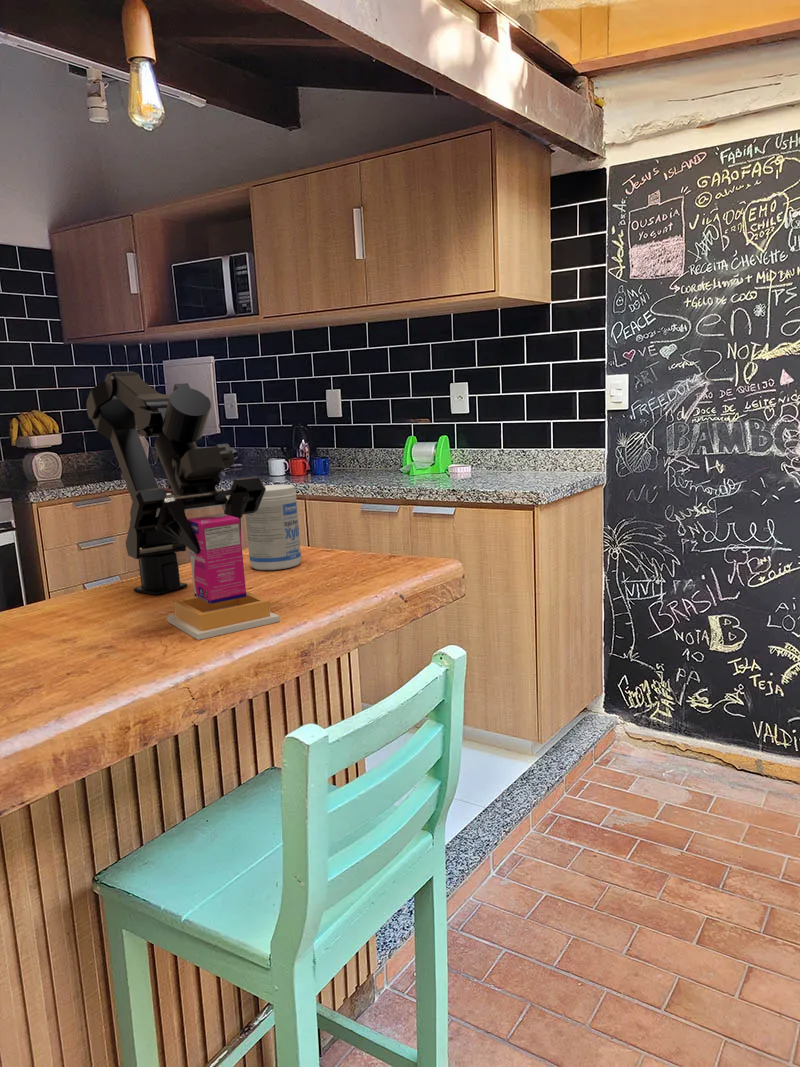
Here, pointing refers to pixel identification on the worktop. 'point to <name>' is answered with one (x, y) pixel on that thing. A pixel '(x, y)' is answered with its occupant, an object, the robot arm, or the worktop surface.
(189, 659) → the worktop surface
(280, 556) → the supplement tub
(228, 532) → the supplement box
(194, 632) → the collar socket
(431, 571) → the worktop surface
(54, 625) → the worktop surface
